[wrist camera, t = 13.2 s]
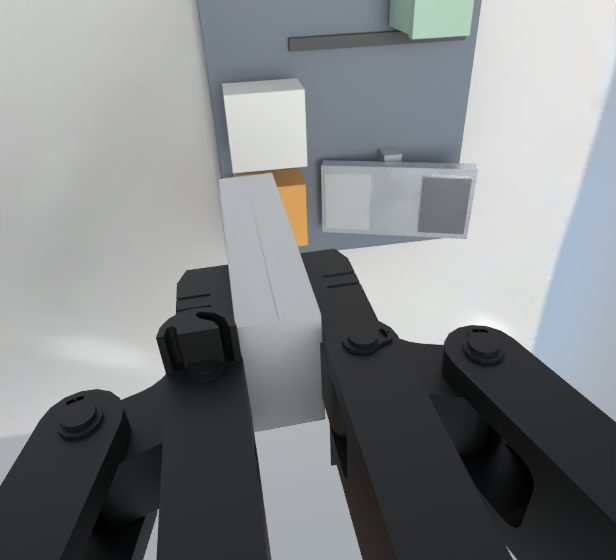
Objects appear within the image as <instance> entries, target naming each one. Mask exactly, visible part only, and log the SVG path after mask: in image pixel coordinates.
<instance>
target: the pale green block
mask: <svg viewBox="0 0 616 560" xmlns="http://www.w3.org/2000/svg"><path fill="white" fill-rule="evenodd" d="M473 6H474V0H390V8H389V26H391V27H393V28H395V29H398V30H400V31H402V32H404V33H406V34H408V35H409V38H411V39H425V38H440V37H455V36H470V29H471V21H472V13H473Z"/></svg>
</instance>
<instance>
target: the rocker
mask: <svg viewBox="0 0 616 560" xmlns="http://www.w3.org/2000/svg"><path fill="white" fill-rule="evenodd" d="M476 176H477V166H476V164H461V163H421V162H382V161H342V160H323V162H322V164H321V186H322V232H333V233H354V234H375V235H397V236H418V237H439V238H461V239H467V233H468V226H469V220H470V214H471V208H472V201H473V195H474V189H475V183H476Z"/></svg>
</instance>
